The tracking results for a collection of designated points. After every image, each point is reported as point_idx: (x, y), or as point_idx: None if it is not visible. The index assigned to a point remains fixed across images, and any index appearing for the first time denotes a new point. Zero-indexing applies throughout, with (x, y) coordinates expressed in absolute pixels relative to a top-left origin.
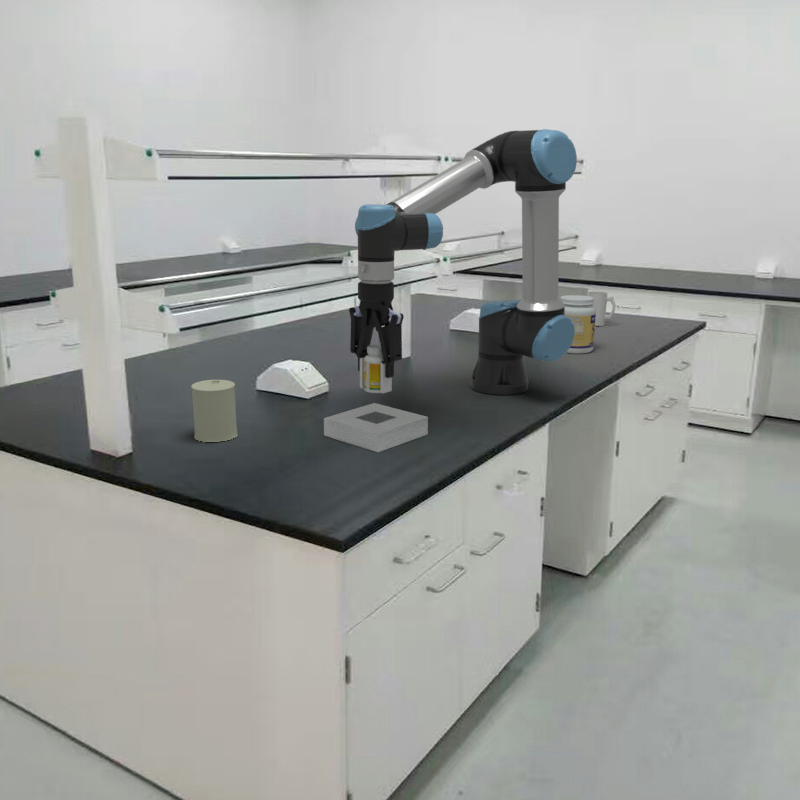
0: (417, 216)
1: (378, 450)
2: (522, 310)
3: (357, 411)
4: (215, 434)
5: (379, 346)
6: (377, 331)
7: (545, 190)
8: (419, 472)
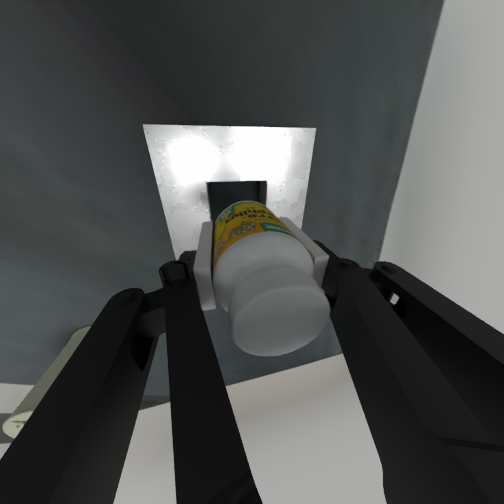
0: None
1: None
2: None
3: (182, 209)
4: None
5: (292, 314)
6: (384, 475)
7: None
8: (356, 257)
